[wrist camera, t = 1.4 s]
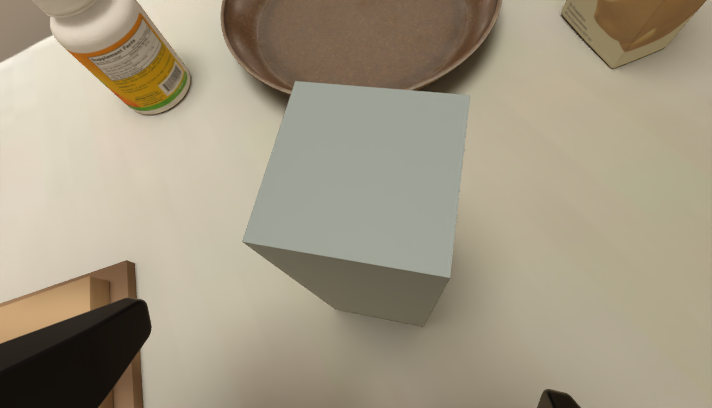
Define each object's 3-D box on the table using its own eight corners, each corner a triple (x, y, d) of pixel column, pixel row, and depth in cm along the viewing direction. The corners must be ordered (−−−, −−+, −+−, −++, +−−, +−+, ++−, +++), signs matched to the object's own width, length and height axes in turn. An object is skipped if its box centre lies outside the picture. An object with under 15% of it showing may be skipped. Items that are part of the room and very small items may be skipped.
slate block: (423, 326, 20) (449, 278, 8) (334, 308, 21) (241, 241, 9) (434, 240, 22) (469, 95, 10) (352, 227, 23) (295, 80, 11)
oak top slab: (115, 470, 18) (91, 479, 17) (-76, 538, 18) (-115, 552, 17) (109, 281, 22) (89, 276, 21) (-47, 335, 22) (-77, 334, 21)
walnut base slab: (156, 477, 19) (137, 486, 18) (-62, 554, 19) (-98, 569, 18) (142, 266, 24) (126, 260, 23) (-32, 325, 24) (-59, 323, 23)
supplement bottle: (125, 77, 30) (8, -40, 21) (186, 54, 30) (96, -72, 22) (131, 126, 28) (5, 18, 19) (197, 101, 28) (103, -18, 19)
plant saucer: (399, -88, 35) (399, -131, 32) (552, 41, 27) (572, 1, 24) (204, 8, 33) (184, -27, 30) (306, 181, 25) (292, 156, 22)
